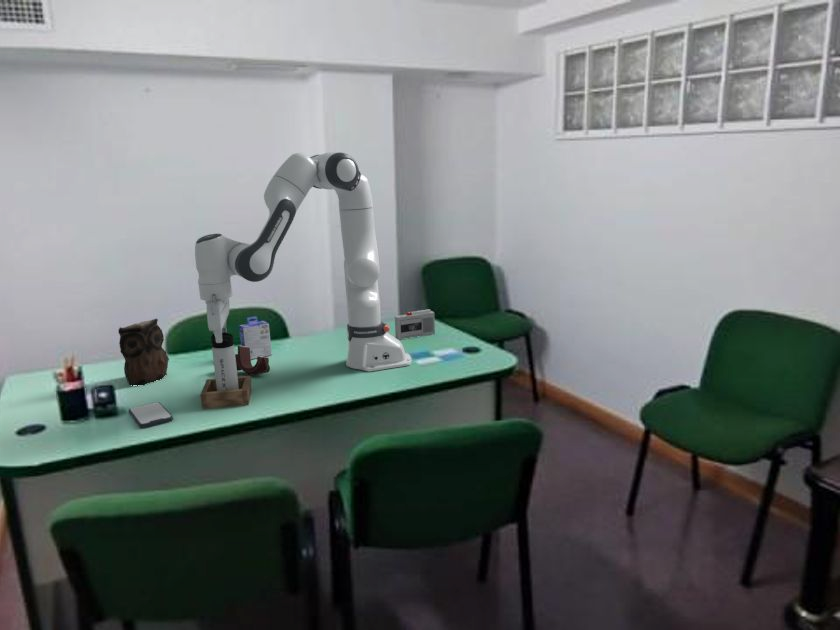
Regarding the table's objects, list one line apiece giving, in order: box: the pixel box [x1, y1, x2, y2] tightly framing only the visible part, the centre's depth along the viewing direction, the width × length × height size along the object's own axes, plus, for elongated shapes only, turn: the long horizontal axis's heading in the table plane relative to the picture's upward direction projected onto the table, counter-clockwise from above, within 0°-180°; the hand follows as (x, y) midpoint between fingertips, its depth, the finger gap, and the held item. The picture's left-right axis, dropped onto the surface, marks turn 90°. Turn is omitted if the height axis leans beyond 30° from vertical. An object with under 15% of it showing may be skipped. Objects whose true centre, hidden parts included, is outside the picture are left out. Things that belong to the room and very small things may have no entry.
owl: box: [118, 318, 170, 387], centre depth 205 cm, size 13×13×20 cm
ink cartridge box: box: [238, 315, 273, 360], centre depth 228 cm, size 10×6×14 cm, turn 124°
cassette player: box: [394, 308, 436, 340], centre depth 247 cm, size 16×3×10 cm, turn 114°
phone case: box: [128, 401, 174, 429], centre depth 179 cm, size 9×2×16 cm
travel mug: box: [210, 332, 239, 391], centre depth 188 cm, size 6×7×20 cm
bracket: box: [235, 344, 271, 376], centre depth 211 cm, size 6×17×10 cm, turn 78°
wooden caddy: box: [199, 375, 253, 410], centre depth 190 cm, size 13×16×12 cm
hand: (221, 337), depth 185 cm, fingers open, 8 cm apart
